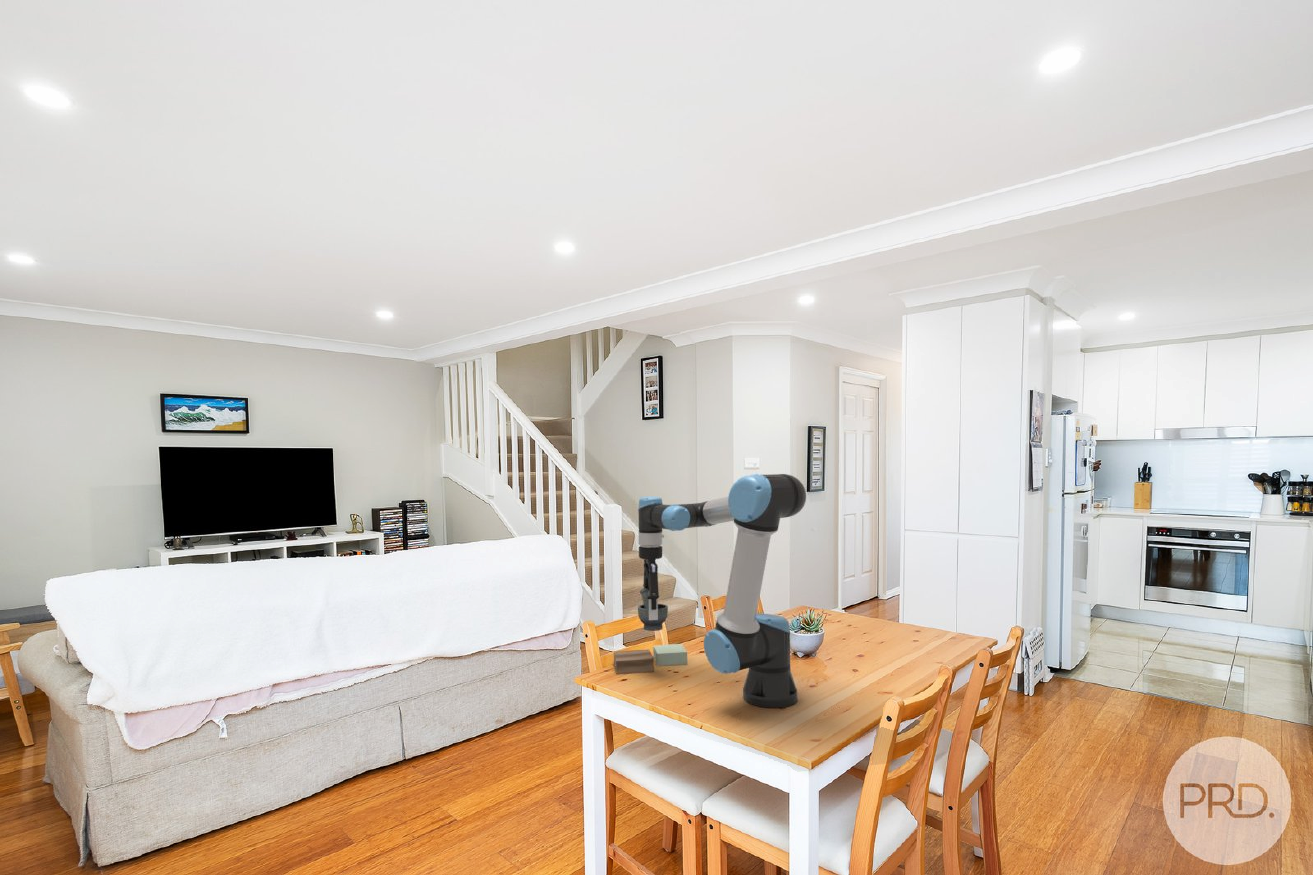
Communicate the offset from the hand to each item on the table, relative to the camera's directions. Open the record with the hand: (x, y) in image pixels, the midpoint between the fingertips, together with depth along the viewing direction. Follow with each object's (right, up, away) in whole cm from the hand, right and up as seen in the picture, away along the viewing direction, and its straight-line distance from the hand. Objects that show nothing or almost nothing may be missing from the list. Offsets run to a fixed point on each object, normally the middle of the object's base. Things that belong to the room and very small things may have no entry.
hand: (650, 615), depth 204 cm
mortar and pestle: (0, -4, 0) cm, 4 cm away
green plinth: (+6, -19, +14) cm, 24 cm away
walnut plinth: (-6, -19, +7) cm, 21 cm away
